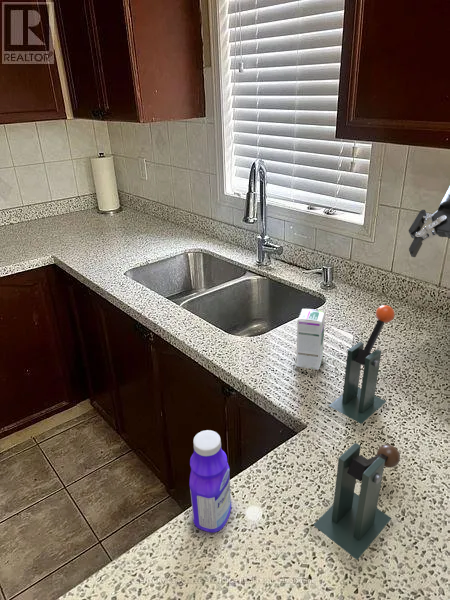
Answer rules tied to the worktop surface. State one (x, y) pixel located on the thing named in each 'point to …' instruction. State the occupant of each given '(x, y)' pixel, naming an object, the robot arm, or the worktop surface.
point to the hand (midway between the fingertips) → (432, 260)
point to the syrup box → (310, 338)
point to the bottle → (209, 482)
